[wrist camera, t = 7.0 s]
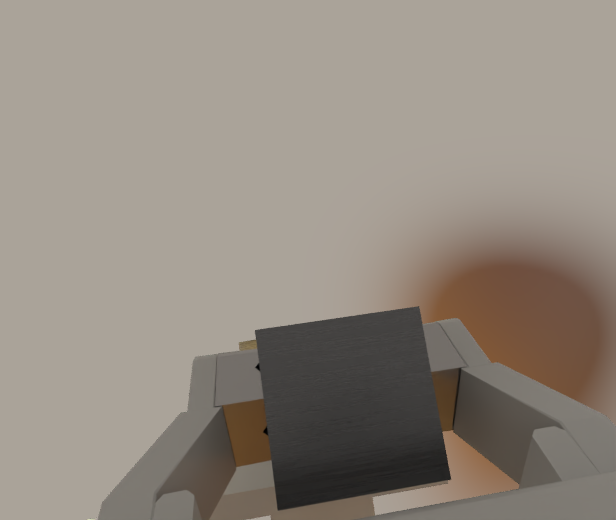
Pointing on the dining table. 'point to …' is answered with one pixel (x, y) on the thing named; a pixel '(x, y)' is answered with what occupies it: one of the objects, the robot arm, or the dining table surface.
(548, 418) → the robot arm
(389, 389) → the grey and gold bar
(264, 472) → the rack
